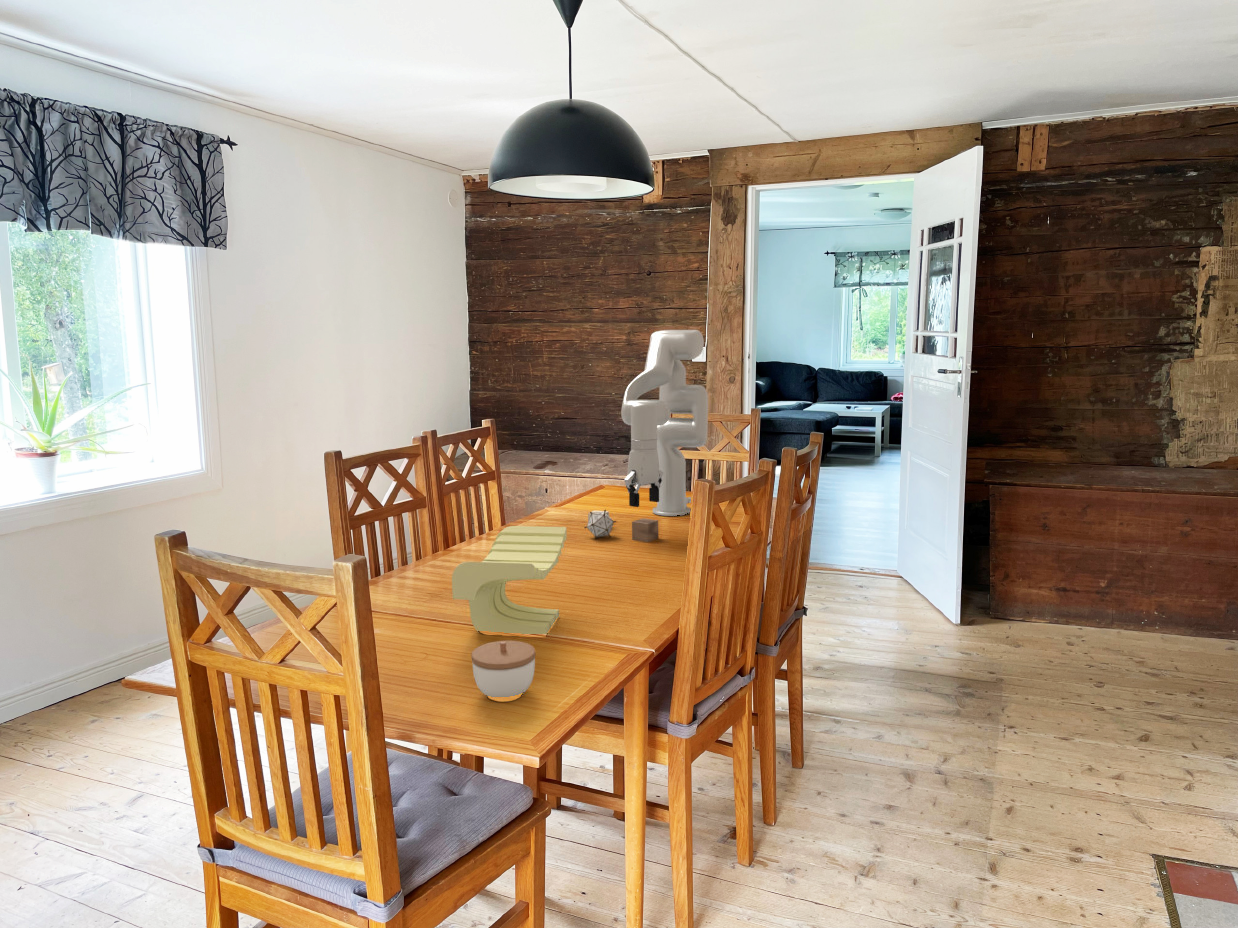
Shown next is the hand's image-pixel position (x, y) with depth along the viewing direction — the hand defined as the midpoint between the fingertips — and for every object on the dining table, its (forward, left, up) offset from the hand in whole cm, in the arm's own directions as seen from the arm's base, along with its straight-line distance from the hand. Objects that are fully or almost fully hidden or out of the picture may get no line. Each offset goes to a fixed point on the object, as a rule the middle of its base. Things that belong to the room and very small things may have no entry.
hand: (644, 503), depth 250 cm
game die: (+5, -12, -11) cm, 17 cm away
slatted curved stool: (+74, +21, -11) cm, 78 cm away
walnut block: (-1, 0, -11) cm, 11 cm away
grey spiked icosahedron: (-4, -20, -11) cm, 23 cm away
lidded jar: (+100, +44, -11) cm, 110 cm away
